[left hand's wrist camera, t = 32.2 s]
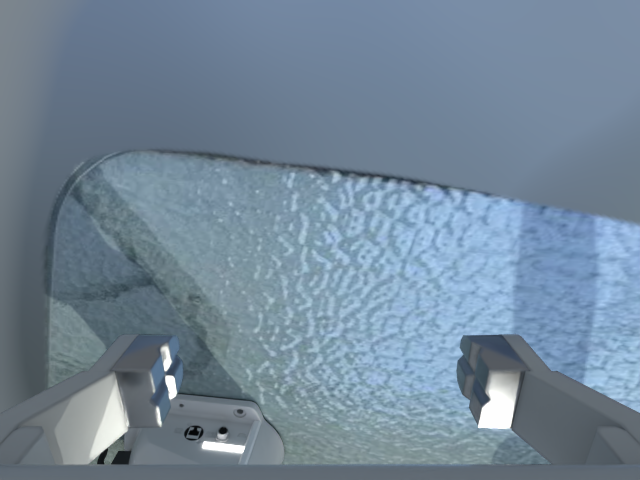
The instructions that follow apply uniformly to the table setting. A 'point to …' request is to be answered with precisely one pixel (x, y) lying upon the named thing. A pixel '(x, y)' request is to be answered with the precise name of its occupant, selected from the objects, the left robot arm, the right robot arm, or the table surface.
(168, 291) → the table surface
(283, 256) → the table surface
